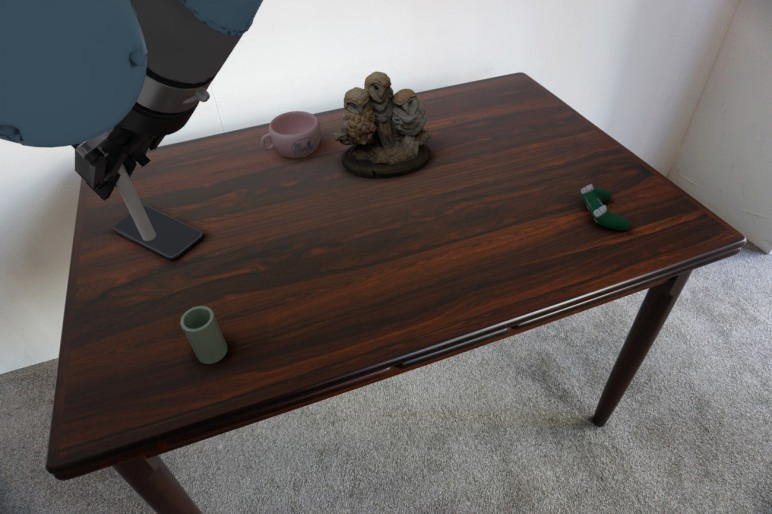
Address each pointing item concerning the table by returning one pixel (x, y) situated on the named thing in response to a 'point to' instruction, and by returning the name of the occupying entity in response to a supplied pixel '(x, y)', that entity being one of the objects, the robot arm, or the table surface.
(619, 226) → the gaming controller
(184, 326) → the pen holder
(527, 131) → the table surface
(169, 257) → the smartphone
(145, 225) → the stylus
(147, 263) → the table surface
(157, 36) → the robot arm
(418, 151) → the owl figurine
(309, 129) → the mug
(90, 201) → the table surface
